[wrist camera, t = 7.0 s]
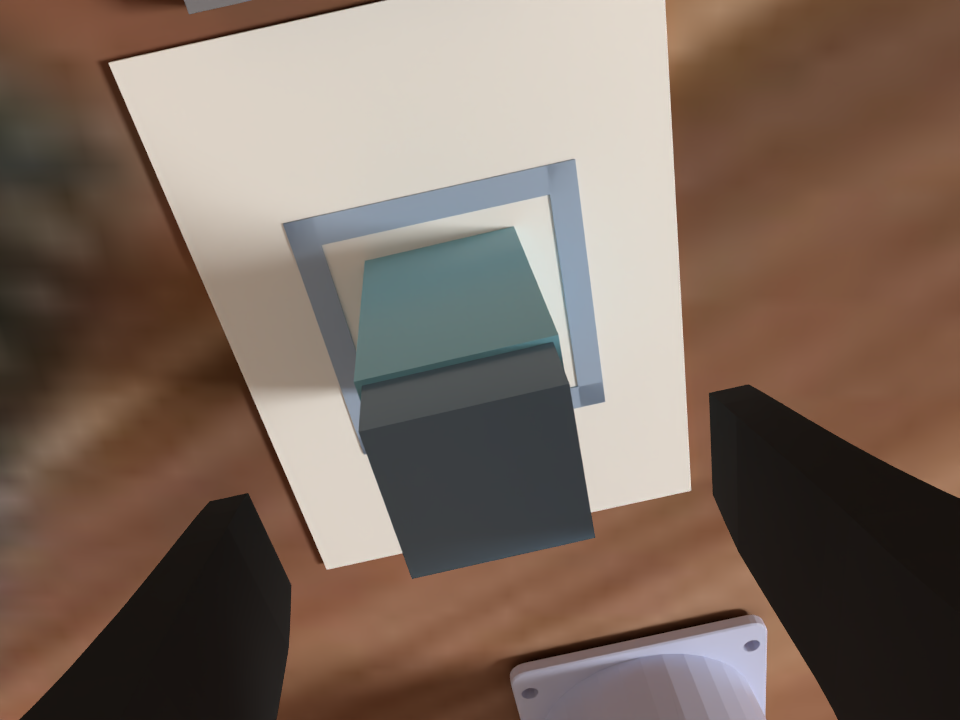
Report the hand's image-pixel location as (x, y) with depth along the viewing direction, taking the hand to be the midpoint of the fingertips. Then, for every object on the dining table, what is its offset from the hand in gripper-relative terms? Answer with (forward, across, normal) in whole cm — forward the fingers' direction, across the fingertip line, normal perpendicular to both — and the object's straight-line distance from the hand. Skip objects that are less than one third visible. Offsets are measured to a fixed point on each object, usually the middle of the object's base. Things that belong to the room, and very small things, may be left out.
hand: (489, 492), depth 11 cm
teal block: (+6, 0, 0) cm, 6 cm away
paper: (+6, 0, 0) cm, 6 cm away
